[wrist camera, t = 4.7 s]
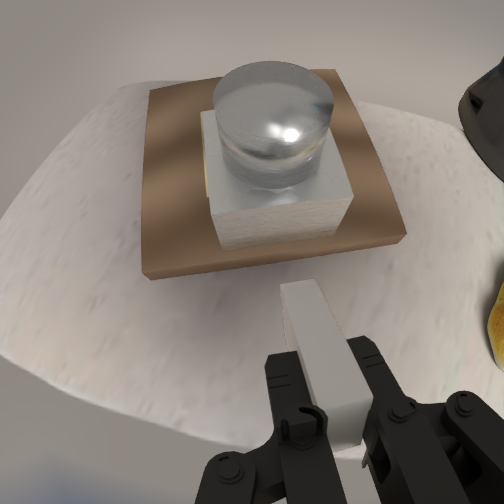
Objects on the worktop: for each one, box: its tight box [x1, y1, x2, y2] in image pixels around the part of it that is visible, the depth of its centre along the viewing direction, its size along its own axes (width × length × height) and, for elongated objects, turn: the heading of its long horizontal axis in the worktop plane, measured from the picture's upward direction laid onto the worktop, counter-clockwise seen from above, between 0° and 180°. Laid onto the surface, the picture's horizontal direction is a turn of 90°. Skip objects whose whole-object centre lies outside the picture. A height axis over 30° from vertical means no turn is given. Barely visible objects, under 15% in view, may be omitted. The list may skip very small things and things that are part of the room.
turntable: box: [141, 69, 407, 280], centre depth 21 cm, size 16×16×2 cm
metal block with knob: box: [202, 61, 354, 251], centre depth 15 cm, size 6×6×8 cm
